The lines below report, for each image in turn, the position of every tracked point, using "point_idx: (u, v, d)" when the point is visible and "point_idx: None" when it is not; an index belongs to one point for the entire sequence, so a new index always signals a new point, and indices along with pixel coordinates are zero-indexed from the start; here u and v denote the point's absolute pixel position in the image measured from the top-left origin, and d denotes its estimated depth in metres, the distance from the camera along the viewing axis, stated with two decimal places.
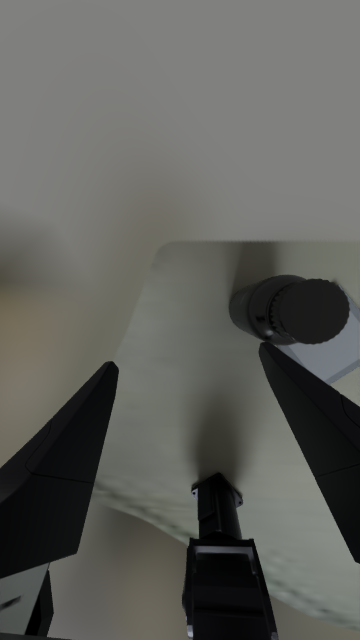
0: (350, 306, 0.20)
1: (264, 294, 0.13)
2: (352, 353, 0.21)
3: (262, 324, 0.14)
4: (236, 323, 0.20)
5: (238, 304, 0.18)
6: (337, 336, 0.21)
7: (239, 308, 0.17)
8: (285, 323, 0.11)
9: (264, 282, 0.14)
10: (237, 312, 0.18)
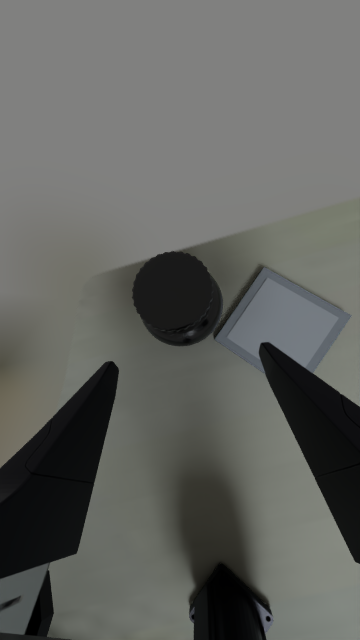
0: (286, 284, 0.18)
1: None
2: (314, 334, 0.17)
3: None
4: None
5: None
6: (287, 319, 0.18)
7: None
8: (144, 312, 0.09)
9: None
10: None
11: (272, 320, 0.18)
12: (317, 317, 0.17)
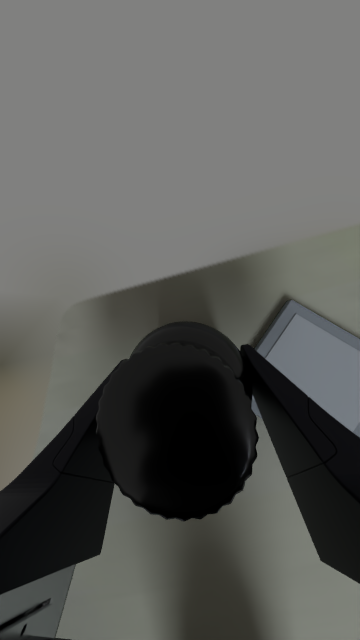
0: (320, 323, 0.14)
1: None
2: None
3: None
4: None
5: None
6: (324, 371, 0.14)
7: None
8: (117, 469, 0.04)
9: (137, 345, 0.08)
10: None
11: (303, 371, 0.14)
12: None
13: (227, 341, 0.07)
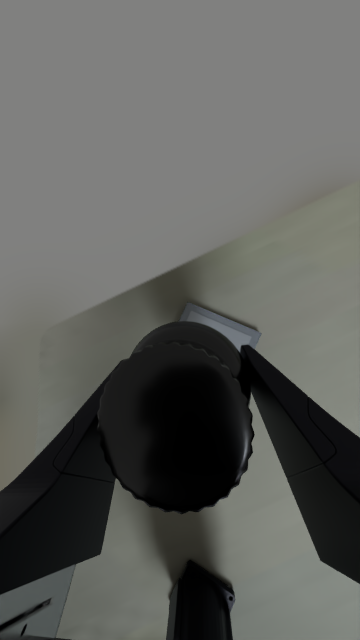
0: (207, 314, 0.21)
1: None
2: None
3: None
4: None
5: None
6: None
7: None
8: (118, 464, 0.04)
9: (137, 345, 0.08)
10: None
11: None
12: (234, 339, 0.21)
13: (226, 340, 0.07)
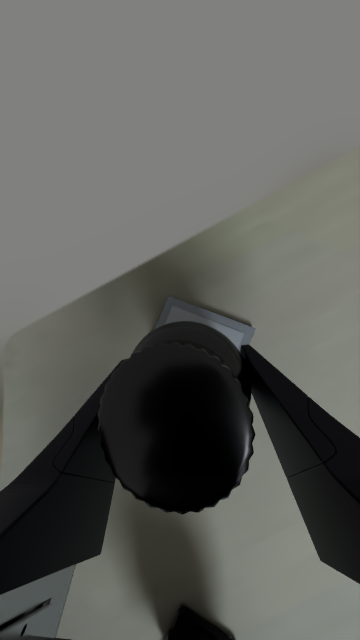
0: (191, 309, 0.18)
1: None
2: None
3: None
4: None
5: None
6: None
7: None
8: (119, 464, 0.04)
9: (138, 344, 0.08)
10: None
11: None
12: None
13: (226, 340, 0.07)
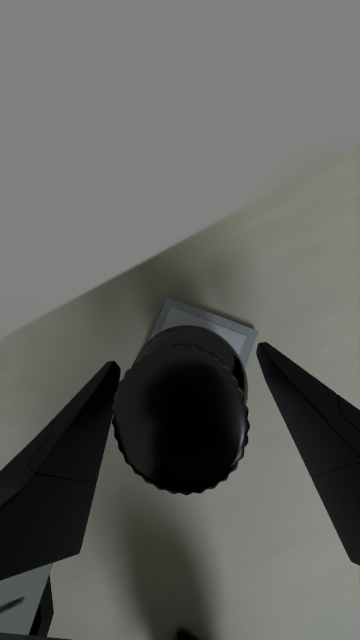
0: (190, 310, 0.17)
1: None
2: None
3: None
4: None
5: None
6: None
7: None
8: (131, 452, 0.05)
9: (143, 346, 0.09)
10: None
11: None
12: (225, 339, 0.17)
13: (225, 343, 0.08)
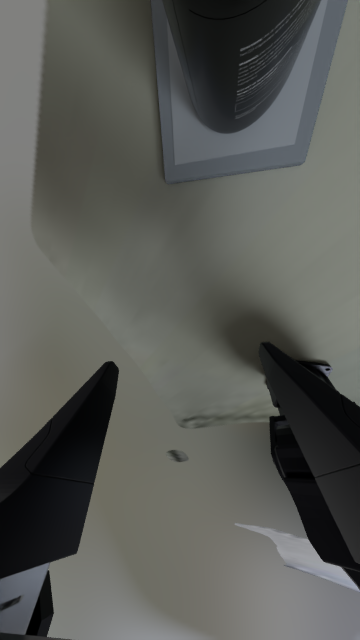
0: None
1: None
2: None
3: None
4: (215, 114, 0.09)
5: (171, 33, 0.07)
6: None
7: (172, 30, 0.06)
8: None
9: None
10: (184, 61, 0.07)
11: None
12: None
13: None
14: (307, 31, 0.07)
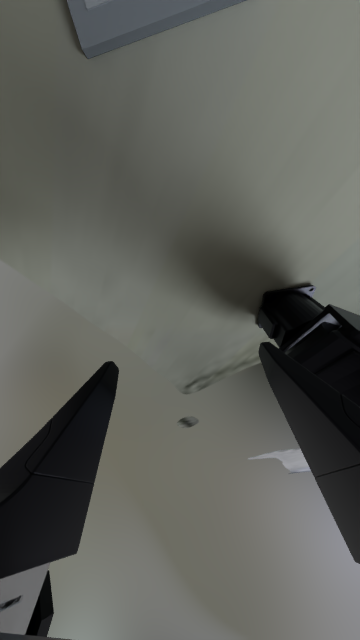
0: None
1: None
2: None
3: None
4: None
5: None
6: None
7: None
8: None
9: None
10: None
11: None
12: None
13: None
14: None
